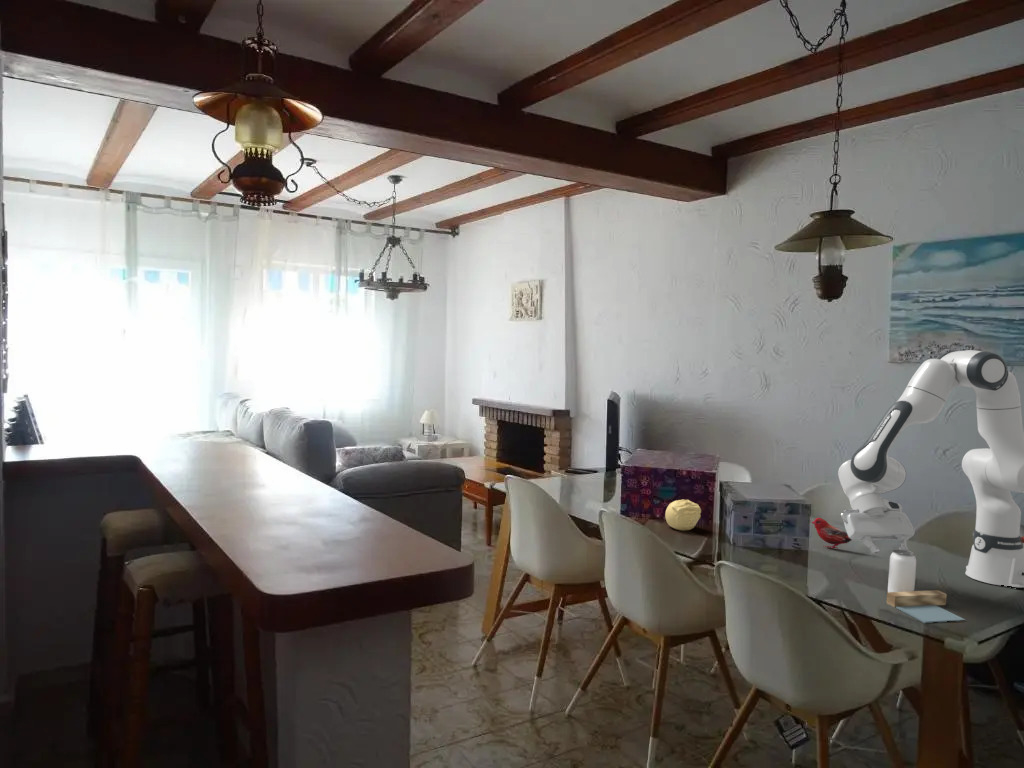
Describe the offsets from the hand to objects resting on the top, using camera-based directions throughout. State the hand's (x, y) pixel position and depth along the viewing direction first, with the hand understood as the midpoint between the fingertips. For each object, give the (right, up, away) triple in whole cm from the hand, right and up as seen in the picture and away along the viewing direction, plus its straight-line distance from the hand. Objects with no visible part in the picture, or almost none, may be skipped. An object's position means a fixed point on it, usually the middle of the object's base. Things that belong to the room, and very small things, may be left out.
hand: (890, 552), depth 205 cm
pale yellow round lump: (-46, -5, +59) cm, 75 cm away
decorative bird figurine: (+2, -8, +38) cm, 39 cm away
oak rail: (+1, -12, -11) cm, 16 cm away
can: (+1, -11, -4) cm, 12 cm away
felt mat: (+1, -12, -18) cm, 22 cm away
